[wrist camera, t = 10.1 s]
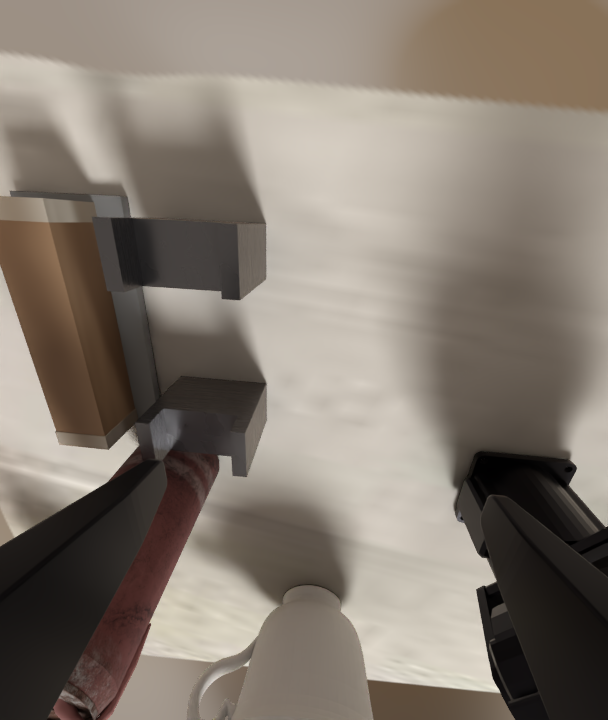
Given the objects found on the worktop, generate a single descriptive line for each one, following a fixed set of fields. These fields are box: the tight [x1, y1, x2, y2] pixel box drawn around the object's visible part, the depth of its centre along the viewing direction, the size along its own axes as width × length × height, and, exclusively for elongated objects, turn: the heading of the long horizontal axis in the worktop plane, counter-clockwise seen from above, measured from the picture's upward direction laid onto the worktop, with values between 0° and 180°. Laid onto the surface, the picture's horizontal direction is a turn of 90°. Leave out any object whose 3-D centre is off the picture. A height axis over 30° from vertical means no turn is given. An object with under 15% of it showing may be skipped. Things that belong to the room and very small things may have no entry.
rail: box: [0, 196, 138, 450], centre depth 19 cm, size 3×14×3 cm, turn 178°
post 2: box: [135, 376, 267, 477], centre depth 20 cm, size 6×3×6 cm, turn 87°
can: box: [47, 446, 219, 720], centre depth 18 cm, size 6×6×14 cm
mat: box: [10, 191, 160, 419], centre depth 20 cm, size 6×15×1 cm, turn 177°
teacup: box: [187, 585, 373, 720], centre depth 26 cm, size 12×15×10 cm
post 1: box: [92, 217, 266, 300], centre depth 16 cm, size 6×3×6 cm, turn 87°
